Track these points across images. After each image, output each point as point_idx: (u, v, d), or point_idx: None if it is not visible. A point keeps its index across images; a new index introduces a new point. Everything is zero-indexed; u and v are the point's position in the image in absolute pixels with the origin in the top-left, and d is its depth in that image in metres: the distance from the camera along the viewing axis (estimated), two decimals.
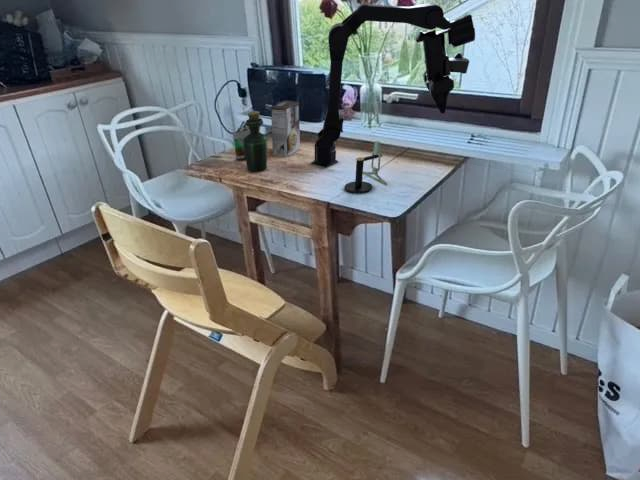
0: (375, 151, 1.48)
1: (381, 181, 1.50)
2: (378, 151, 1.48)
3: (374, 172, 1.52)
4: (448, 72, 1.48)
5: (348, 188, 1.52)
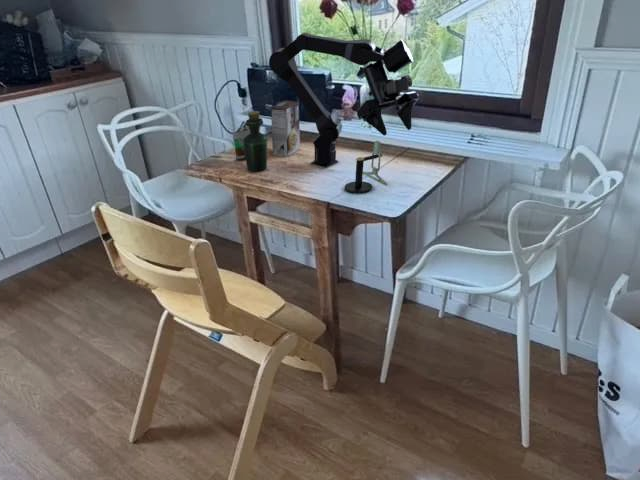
0: (375, 151, 1.48)
1: (381, 181, 1.50)
2: (378, 151, 1.48)
3: (374, 172, 1.52)
4: (383, 95, 1.48)
5: (348, 188, 1.52)
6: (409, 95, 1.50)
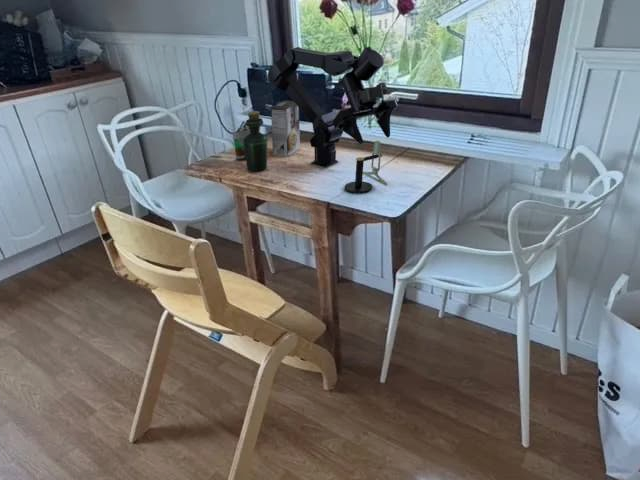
0: (375, 151, 1.48)
1: (381, 181, 1.50)
2: (378, 151, 1.48)
3: (374, 172, 1.52)
4: (358, 104, 1.47)
5: (348, 188, 1.52)
6: (387, 103, 1.48)
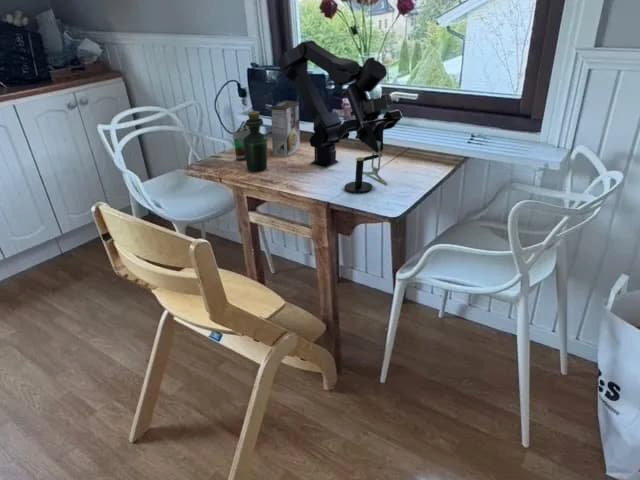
0: None
1: (381, 181, 1.50)
2: (378, 151, 1.48)
3: (374, 172, 1.52)
4: (362, 115, 1.45)
5: (348, 188, 1.52)
6: (391, 113, 1.47)
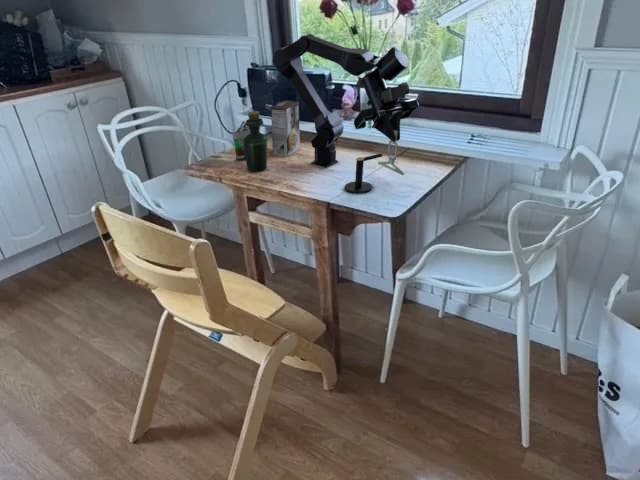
0: None
1: (398, 170, 1.50)
2: None
3: (390, 161, 1.52)
4: (379, 104, 1.45)
5: (348, 188, 1.52)
6: (408, 103, 1.47)
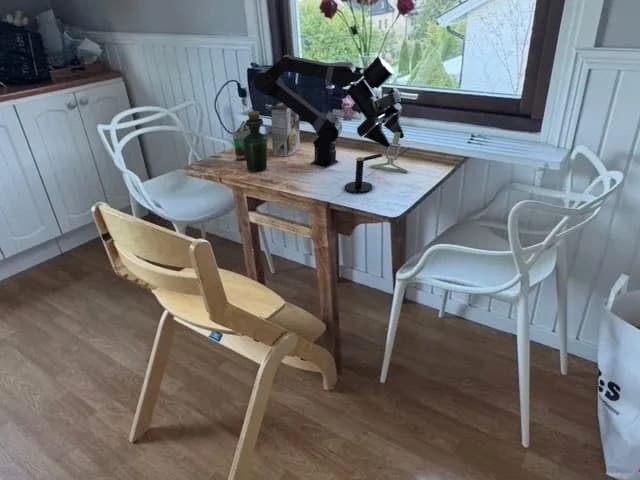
0: (395, 141, 1.59)
1: (400, 169, 1.60)
2: (398, 141, 1.59)
3: (390, 162, 1.61)
4: (377, 111, 1.52)
5: (348, 188, 1.52)
6: (395, 106, 1.57)
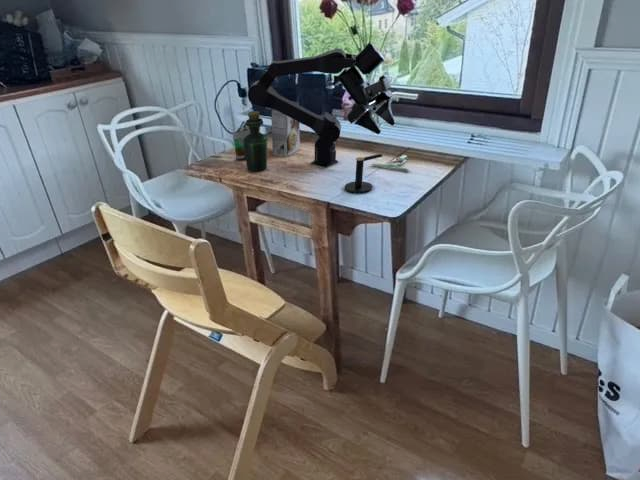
0: (401, 157, 1.67)
1: None
2: (404, 159, 1.67)
3: (394, 164, 1.64)
4: (368, 97, 1.52)
5: (348, 188, 1.52)
6: (386, 93, 1.57)
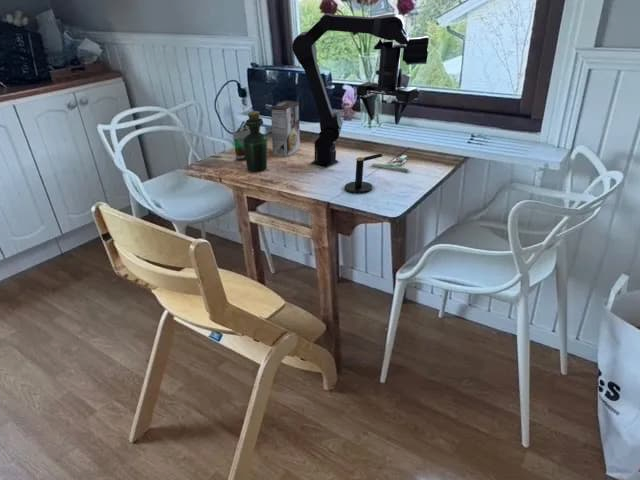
0: (401, 157, 1.67)
1: None
2: (404, 159, 1.67)
3: (394, 164, 1.64)
4: (401, 84, 1.53)
5: (348, 188, 1.52)
6: None
